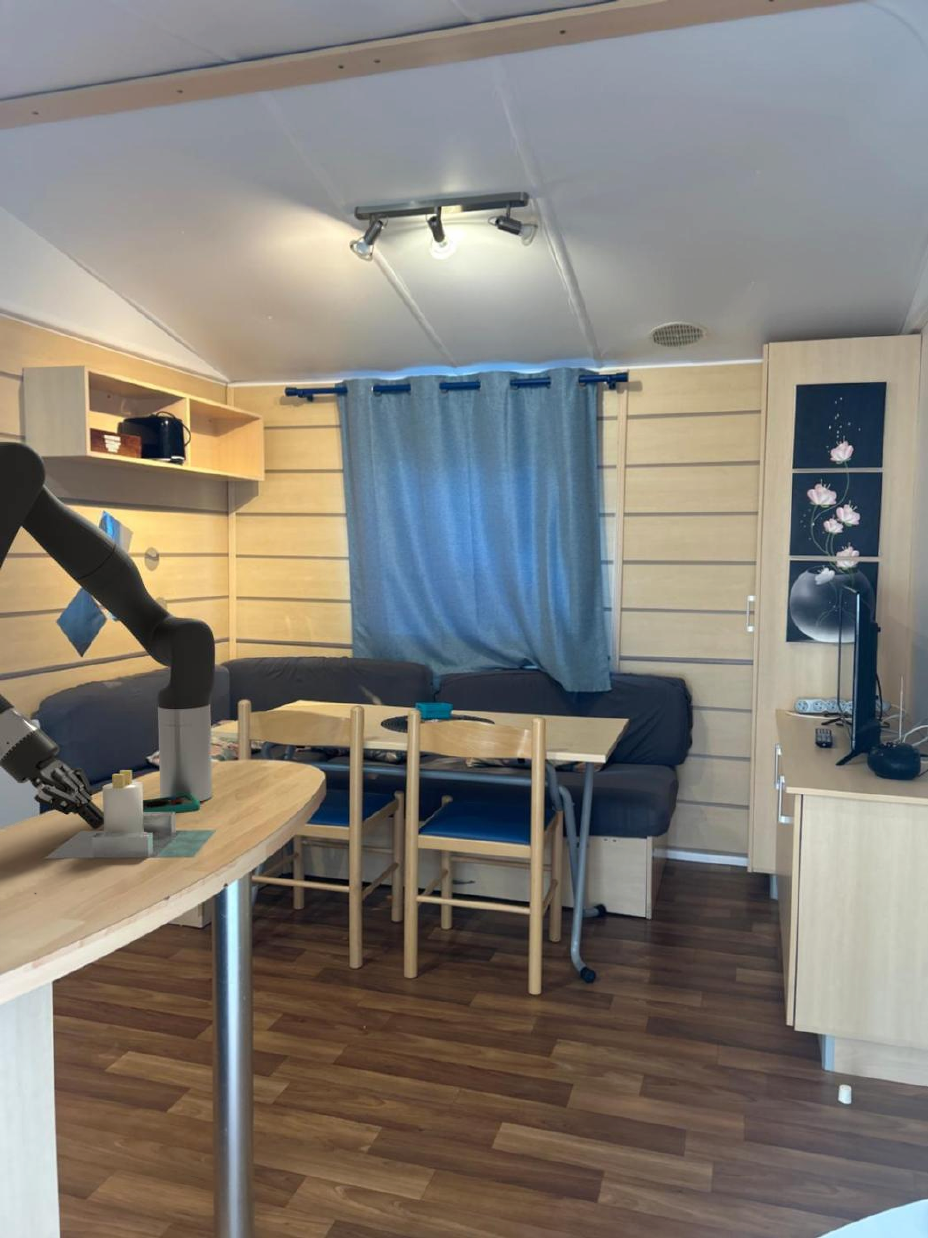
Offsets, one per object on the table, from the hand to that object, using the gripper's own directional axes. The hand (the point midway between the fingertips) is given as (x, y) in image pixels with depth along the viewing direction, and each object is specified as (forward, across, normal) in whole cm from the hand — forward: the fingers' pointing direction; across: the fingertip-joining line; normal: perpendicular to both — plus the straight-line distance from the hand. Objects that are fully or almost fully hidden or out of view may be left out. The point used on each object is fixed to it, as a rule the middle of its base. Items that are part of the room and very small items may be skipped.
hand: (102, 824), depth 139 cm
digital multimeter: (+4, +18, +2) cm, 19 cm away
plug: (+4, 0, 0) cm, 5 cm away
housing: (+6, 0, -1) cm, 6 cm away
